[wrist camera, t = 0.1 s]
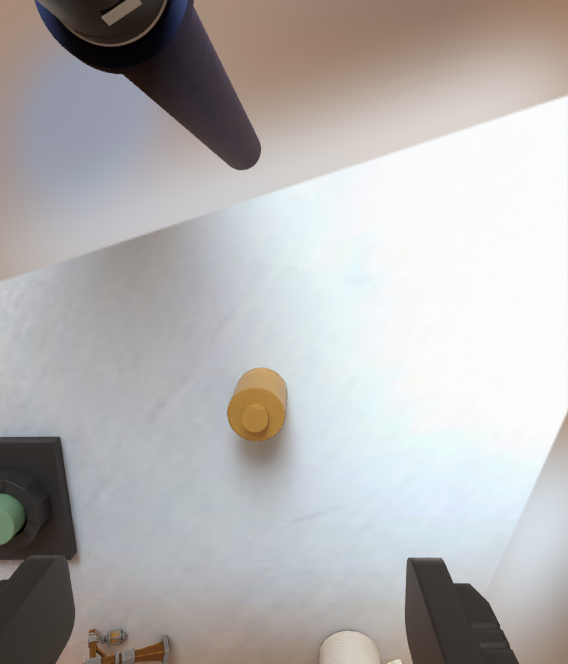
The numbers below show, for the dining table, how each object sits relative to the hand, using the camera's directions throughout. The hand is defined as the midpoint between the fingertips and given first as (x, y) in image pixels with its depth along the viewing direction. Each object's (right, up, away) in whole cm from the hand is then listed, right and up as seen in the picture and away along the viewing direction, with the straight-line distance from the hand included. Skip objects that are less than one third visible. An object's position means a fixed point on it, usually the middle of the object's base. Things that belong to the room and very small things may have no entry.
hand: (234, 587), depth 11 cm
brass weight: (-1, +1, +29) cm, 29 cm away
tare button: (-24, -10, +29) cm, 39 cm away
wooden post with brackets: (-14, -25, +35) cm, 45 cm away
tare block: (-23, -9, +32) cm, 41 cm away
